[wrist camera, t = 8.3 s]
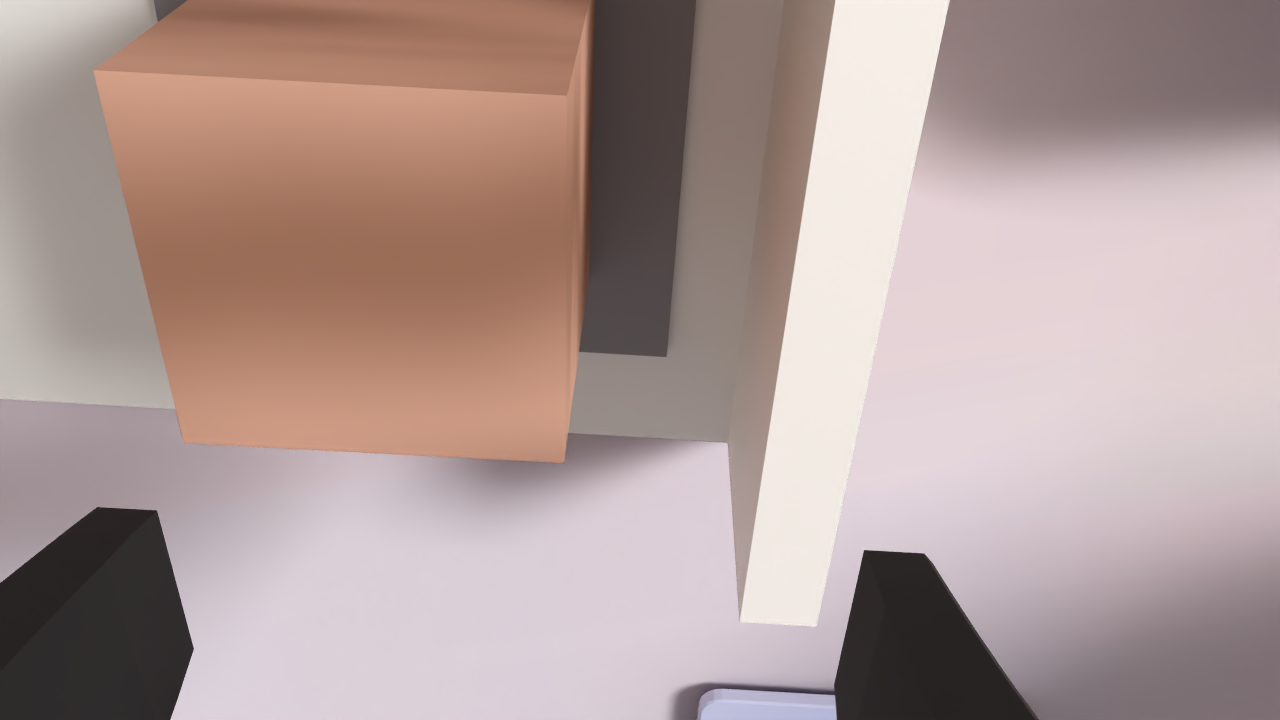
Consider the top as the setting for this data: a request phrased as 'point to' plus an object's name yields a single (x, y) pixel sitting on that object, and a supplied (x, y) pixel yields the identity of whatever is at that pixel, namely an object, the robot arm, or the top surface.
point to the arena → (619, 240)
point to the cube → (363, 218)
